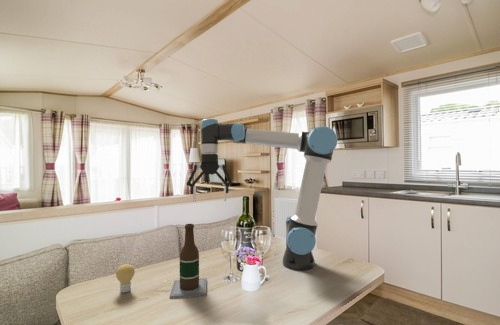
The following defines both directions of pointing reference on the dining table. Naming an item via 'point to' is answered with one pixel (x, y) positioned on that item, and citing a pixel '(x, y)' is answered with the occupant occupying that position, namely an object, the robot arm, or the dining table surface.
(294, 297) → the dining table surface
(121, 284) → the light bulb
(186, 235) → the beer bottle
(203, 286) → the plate
